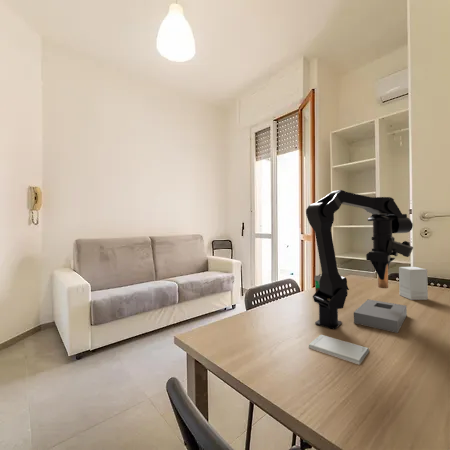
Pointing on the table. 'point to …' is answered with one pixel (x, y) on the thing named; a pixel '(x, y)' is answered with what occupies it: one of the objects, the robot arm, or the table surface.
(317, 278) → the food container
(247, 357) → the table surface
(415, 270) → the supplement box
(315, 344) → the hard drive
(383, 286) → the pin
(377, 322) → the grey block with hole
